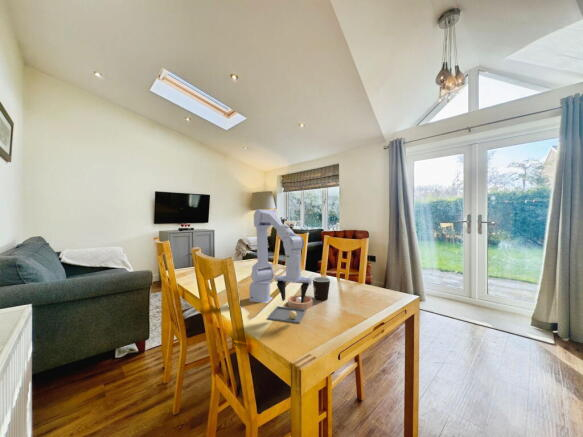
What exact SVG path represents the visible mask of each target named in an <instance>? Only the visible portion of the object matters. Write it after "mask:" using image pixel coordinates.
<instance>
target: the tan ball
mask: <svg viewBox="0 0 583 437" xmlns="http://www.w3.org/2000/svg"><path fill="white" fill-rule="evenodd" d="M296 317H297V313H296V312H295V311H290V312H289V318H290V319H295V318H296Z"/></svg>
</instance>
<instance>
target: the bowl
mask: <svg viewBox="0 0 583 437" xmlns="http://www.w3.org/2000/svg"><path fill="white" fill-rule="evenodd" d="M297 297H301V294H294V295H291V296H289V297H288V298H287V305H288V307H289V308H297V309H305V310H307V309H310V308H312V307H313V304H314V300H313V298H312V296H308V295H306V294H305V298H304V302H303V303H297V302H296V298H297Z"/></svg>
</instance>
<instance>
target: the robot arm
mask: <svg viewBox="0 0 583 437" xmlns="http://www.w3.org/2000/svg"><path fill="white" fill-rule="evenodd" d="M253 226H254V227H255V228H256V255H257V257H256V258H257V262H256V263H255V264H253V265H252V267H251V274H250V275H251V280H252V281H251V282H250V285H249V300H248V302H254V303H255V302H256V303H262V304H268V303H269V302H270V301H271V300H272V299H273V298H274V297H273V296H271V282H272V280H273V279H274V282H275V283H276V287H277V288H278V291H279V293H280V295H281V301H282V302H284V301H285V300H286V286H287V283H290V284H291V283H294V284H301V285H300V290H301V291H300V292H301V294H300V295H301V303H303V302H304V298H305V295H306V294H307V291H308V288H309V286H311V285H313V278H309V277H304V276H302V274H301V270H302V269H301V267H302V265H301V263H302V261H301V260H302V254H301V252H302V250H303V249H304V247H305V241H304V237H302V235H299V234H296V233H295V232H294V231H293V230H292V229H291V228H290V226H289V225H288V224H284V223H283V222H282V221H281V219H280V218H279V213H278V212H277V210H276V209H260V208H259V209H258V208H257V209H255V211H254V213H253ZM269 227H273V228H274V229H275V230H276V234H277V236H278V237H279V239H280V240H281V241H282V243H283V244H282V246H283V249H284V255H285V259H286V261H285V275H275V271H274V266H273V264H272V263H270V262H269V254H268V253H269V250H268V229H269Z"/></svg>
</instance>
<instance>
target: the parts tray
mask: <svg viewBox="0 0 583 437" xmlns="http://www.w3.org/2000/svg"><path fill="white" fill-rule="evenodd" d="M290 311H295V312H296V313H297V317H296V318H295V319H290V318H289V312H290ZM306 312H307V309H297V308H291V307H289V306H288V307H287V306H280V305H279V306H278V305H277V306H276V307H275V308H274V309H273V310H272V312H271V313H270V314H269V315H268V316H267V320H268V321H269V320H270V321H277V322H284V323H293V324H297V325H298V324H299V325H300V323H302V320H303V319H304V316H305V314H306Z"/></svg>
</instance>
